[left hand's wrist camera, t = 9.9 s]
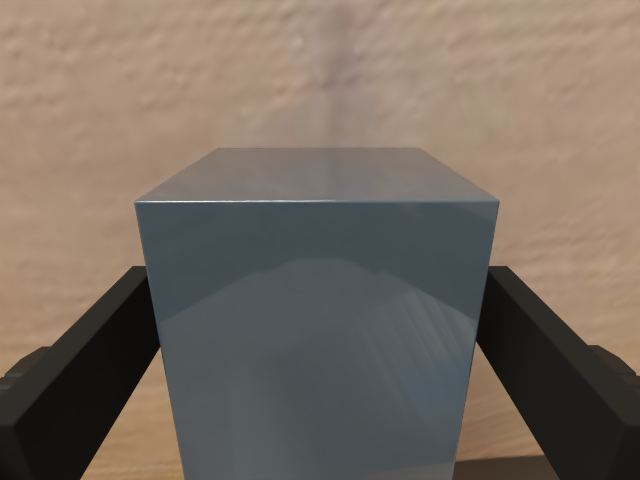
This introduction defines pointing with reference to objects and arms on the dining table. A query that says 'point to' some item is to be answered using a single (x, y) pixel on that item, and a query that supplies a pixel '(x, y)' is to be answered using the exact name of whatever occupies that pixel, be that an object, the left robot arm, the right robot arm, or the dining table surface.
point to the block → (317, 310)
